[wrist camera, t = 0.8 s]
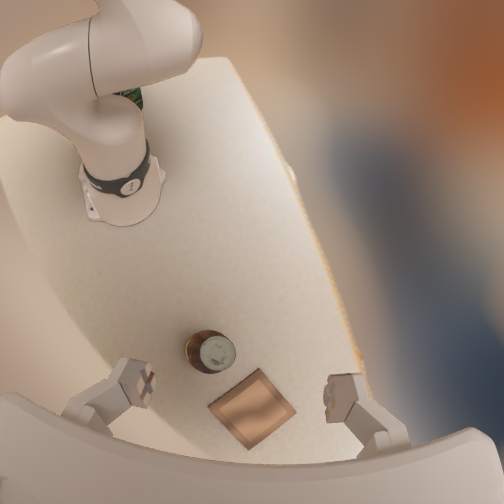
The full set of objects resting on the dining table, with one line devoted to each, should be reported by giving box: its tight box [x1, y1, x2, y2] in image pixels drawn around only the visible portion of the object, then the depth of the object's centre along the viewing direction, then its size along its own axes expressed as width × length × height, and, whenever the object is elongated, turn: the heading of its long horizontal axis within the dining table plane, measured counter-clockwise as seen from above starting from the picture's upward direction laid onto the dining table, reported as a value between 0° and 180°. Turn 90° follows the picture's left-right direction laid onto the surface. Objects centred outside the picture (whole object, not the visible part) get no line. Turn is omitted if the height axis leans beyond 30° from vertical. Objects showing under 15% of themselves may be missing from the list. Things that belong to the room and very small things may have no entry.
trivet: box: [208, 369, 297, 450], centre depth 43 cm, size 12×12×1 cm
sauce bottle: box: [185, 330, 236, 374], centre depth 37 cm, size 7×6×20 cm
